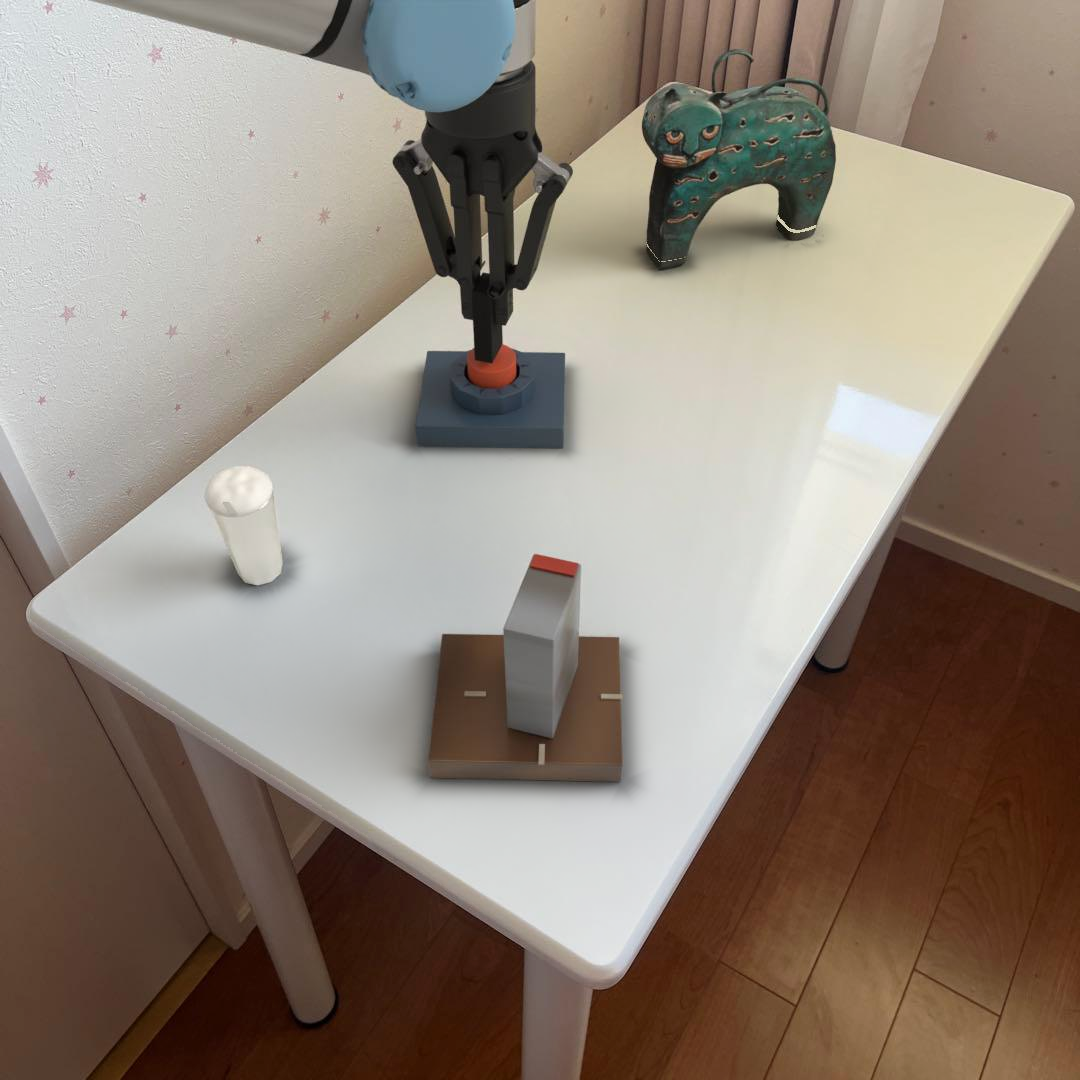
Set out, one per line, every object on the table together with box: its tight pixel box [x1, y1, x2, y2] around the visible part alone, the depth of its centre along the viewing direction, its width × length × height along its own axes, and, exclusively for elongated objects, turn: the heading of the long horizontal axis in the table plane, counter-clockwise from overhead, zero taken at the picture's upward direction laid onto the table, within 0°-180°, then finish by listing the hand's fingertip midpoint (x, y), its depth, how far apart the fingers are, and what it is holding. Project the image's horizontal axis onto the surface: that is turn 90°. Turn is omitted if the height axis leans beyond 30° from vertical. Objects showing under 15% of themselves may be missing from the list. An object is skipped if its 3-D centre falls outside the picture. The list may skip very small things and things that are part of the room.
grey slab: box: [502, 553, 582, 738], centre depth 67 cm, size 6×3×10 cm, turn 163°
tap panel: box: [427, 633, 624, 783], centre depth 72 cm, size 12×10×2 cm
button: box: [467, 344, 516, 389], centre depth 91 cm, size 4×4×2 cm
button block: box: [415, 347, 566, 449], centre depth 92 cm, size 12×10×4 cm
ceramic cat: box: [641, 48, 837, 271], centre depth 104 cm, size 20×6×20 cm, turn 109°
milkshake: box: [204, 465, 284, 586], centre depth 78 cm, size 5×5×10 cm
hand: (488, 351), depth 89 cm, fingers closed
